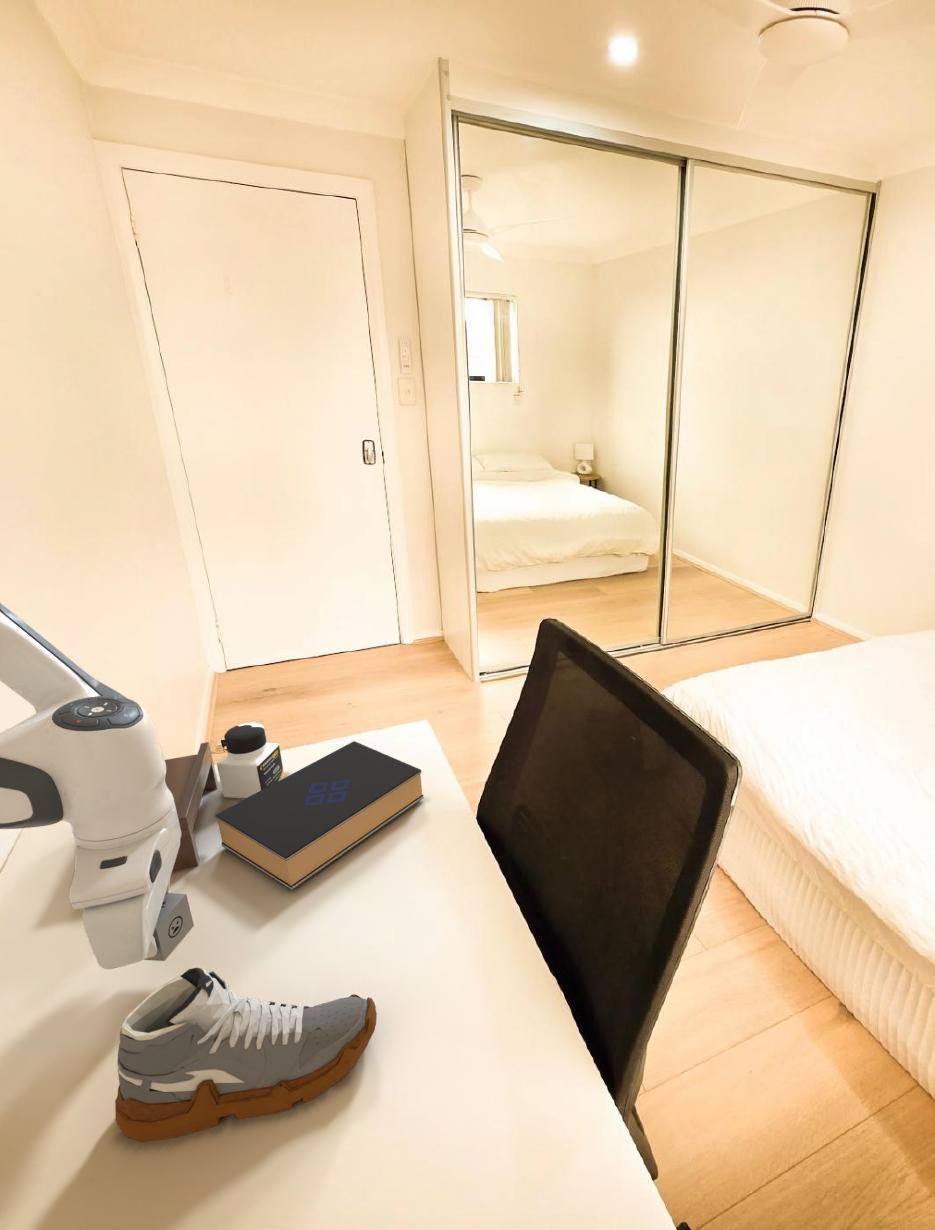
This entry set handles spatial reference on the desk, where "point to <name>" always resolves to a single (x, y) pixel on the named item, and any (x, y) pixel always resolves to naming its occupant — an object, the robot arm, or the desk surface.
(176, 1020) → the sneaker
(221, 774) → the medicine bottle
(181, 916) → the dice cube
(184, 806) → the wooden cradle stand
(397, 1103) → the desk surface
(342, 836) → the book
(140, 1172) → the desk surface
